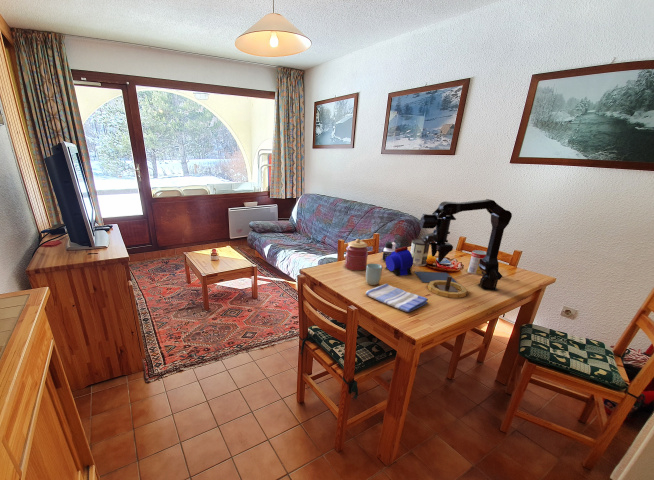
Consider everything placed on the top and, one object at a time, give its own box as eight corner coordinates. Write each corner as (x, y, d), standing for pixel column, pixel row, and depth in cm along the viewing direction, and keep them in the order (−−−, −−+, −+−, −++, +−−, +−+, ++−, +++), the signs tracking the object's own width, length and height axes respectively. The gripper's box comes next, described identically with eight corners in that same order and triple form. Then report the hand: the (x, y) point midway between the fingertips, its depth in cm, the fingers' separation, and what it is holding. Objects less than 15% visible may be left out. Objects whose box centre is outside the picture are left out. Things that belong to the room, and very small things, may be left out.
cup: (380, 287, 159) (383, 269, 155) (365, 286, 160) (367, 267, 156) (379, 281, 166) (381, 263, 162) (364, 280, 167) (366, 262, 163)
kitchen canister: (349, 262, 195) (352, 234, 188) (369, 266, 188) (373, 238, 181) (340, 268, 185) (343, 239, 178) (361, 272, 178) (364, 243, 171)
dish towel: (385, 286, 159) (386, 281, 158) (429, 303, 142) (430, 298, 141) (363, 295, 150) (364, 290, 148) (407, 314, 132) (408, 308, 131)
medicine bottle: (381, 261, 196) (384, 243, 191) (382, 258, 202) (385, 240, 197) (393, 262, 193) (396, 244, 189) (394, 259, 200) (397, 241, 195)
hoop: (457, 284, 162) (458, 281, 161) (472, 298, 147) (473, 294, 146) (423, 282, 164) (424, 279, 163) (434, 296, 148) (435, 292, 148)
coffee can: (421, 260, 198) (426, 239, 192) (428, 266, 188) (433, 243, 183) (405, 260, 198) (409, 239, 192) (411, 265, 188) (416, 243, 183)
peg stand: (451, 287, 158) (455, 273, 156) (458, 294, 151) (461, 280, 148) (435, 286, 159) (438, 273, 156) (441, 293, 152) (444, 279, 149)
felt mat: (446, 273, 177) (446, 272, 177) (458, 284, 162) (458, 283, 162) (414, 271, 179) (414, 271, 179) (422, 282, 164) (422, 282, 164)
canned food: (485, 272, 178) (491, 252, 173) (479, 275, 174) (484, 255, 169) (471, 268, 184) (476, 249, 179) (464, 271, 180) (469, 251, 175)
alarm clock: (412, 274, 175) (417, 249, 169) (393, 276, 173) (397, 250, 167) (399, 267, 186) (403, 243, 180) (381, 269, 183) (385, 244, 178)
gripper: (419, 224, 159) (414, 253, 165) (431, 232, 142) (425, 264, 148) (442, 224, 158) (436, 253, 164) (456, 233, 140) (449, 265, 146)
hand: (436, 259), depth 155 cm, fingers open, 9 cm apart
